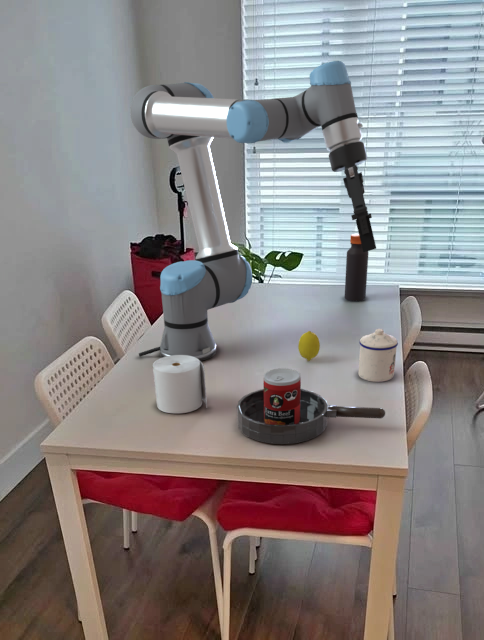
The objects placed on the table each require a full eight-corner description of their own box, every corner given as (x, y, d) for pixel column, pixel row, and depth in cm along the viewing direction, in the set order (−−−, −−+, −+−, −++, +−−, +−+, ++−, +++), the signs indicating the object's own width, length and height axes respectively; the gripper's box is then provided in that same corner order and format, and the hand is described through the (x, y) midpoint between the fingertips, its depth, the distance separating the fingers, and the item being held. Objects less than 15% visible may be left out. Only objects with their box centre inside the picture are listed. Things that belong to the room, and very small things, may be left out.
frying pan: (230, 443, 139) (229, 423, 136) (245, 403, 155) (244, 385, 152) (324, 447, 136) (325, 428, 133) (328, 406, 152) (329, 388, 149)
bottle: (344, 301, 218) (347, 237, 207) (344, 295, 223) (347, 232, 213) (365, 302, 217) (369, 237, 206) (365, 295, 222) (369, 232, 212)
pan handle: (324, 418, 141) (324, 409, 140) (325, 412, 144) (325, 403, 143) (385, 421, 139) (385, 411, 138) (384, 415, 142) (385, 405, 141)
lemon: (318, 365, 173) (319, 335, 169) (296, 364, 174) (297, 334, 170) (320, 357, 178) (321, 327, 173) (299, 356, 179) (299, 327, 174)
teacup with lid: (397, 382, 162) (402, 335, 156) (359, 383, 162) (362, 336, 156) (389, 363, 172) (393, 319, 166) (353, 364, 173) (356, 320, 166)
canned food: (259, 428, 143) (258, 380, 137) (271, 412, 149) (271, 366, 144) (293, 433, 141) (293, 384, 135) (304, 417, 147) (305, 370, 141)
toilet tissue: (159, 394, 160) (155, 355, 155) (210, 393, 160) (207, 354, 155) (153, 414, 151) (149, 373, 146) (206, 413, 151) (204, 372, 146)
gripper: (362, 129, 126) (388, 244, 132) (364, 148, 149) (386, 245, 155) (323, 143, 128) (350, 256, 134) (331, 160, 151) (354, 255, 157)
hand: (370, 250), depth 144 cm, fingers open, 13 cm apart
